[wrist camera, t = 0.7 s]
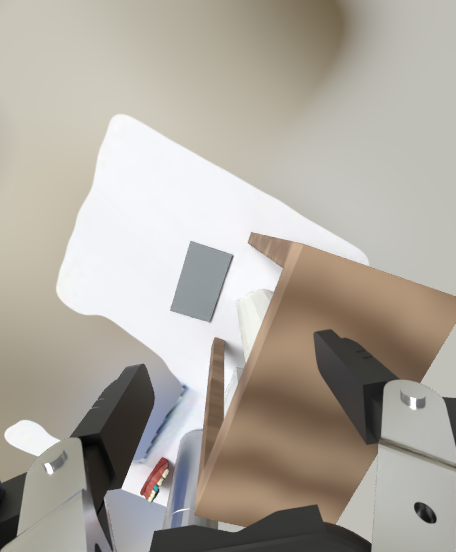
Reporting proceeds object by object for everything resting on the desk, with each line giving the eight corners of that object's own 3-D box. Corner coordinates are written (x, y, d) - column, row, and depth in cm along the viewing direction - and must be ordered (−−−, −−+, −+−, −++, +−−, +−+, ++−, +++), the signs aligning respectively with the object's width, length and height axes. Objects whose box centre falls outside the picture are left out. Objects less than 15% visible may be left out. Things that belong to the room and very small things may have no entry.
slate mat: (209, 321, 44) (209, 322, 43) (170, 309, 43) (170, 310, 43) (232, 254, 41) (232, 255, 40) (190, 241, 40) (190, 241, 40)
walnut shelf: (266, 361, 46) (323, 544, 20) (211, 345, 45) (194, 515, 19) (311, 252, 41) (469, 301, 15) (251, 232, 40) (303, 244, 14)
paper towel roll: (283, 303, 43) (338, 375, 22) (261, 323, 44) (294, 411, 23) (257, 278, 42) (291, 329, 21) (235, 299, 43) (246, 369, 22)
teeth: (145, 485, 45) (199, 502, 46) (155, 453, 51) (202, 469, 52) (131, 510, 47) (184, 526, 48) (142, 477, 53) (188, 491, 54)
